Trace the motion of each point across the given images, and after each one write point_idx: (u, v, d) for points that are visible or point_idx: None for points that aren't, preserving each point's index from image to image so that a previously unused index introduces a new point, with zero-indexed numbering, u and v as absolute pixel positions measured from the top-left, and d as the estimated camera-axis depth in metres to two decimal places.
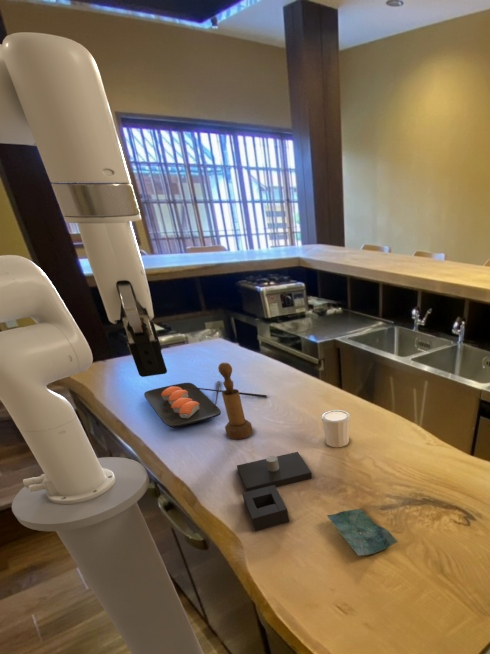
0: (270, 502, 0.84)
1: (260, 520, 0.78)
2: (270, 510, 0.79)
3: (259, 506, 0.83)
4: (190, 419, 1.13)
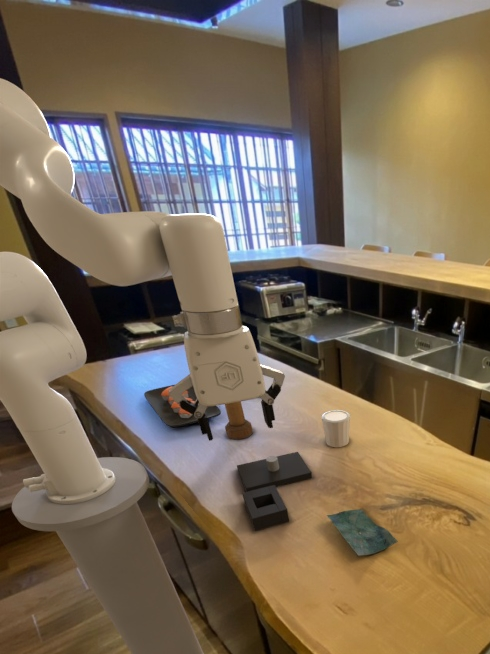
0: (270, 502, 0.84)
1: (260, 520, 0.78)
2: (270, 510, 0.79)
3: (259, 506, 0.83)
4: (190, 419, 1.13)
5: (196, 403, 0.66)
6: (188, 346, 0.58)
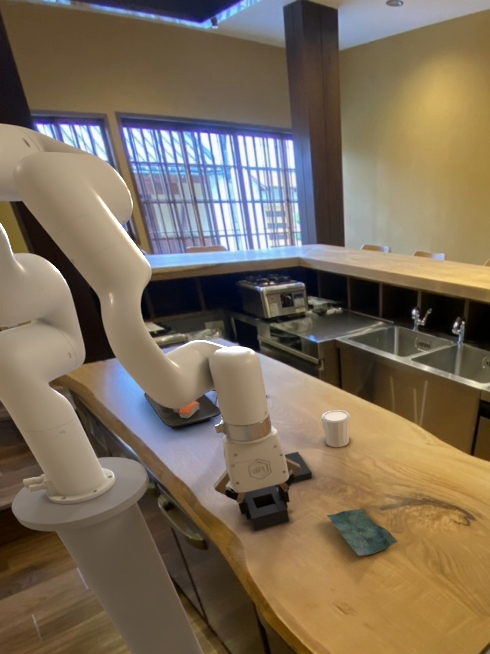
0: (270, 502, 0.84)
1: (260, 520, 0.78)
2: (270, 510, 0.79)
3: (259, 506, 0.83)
4: (190, 419, 1.13)
5: None
6: (227, 449, 0.70)
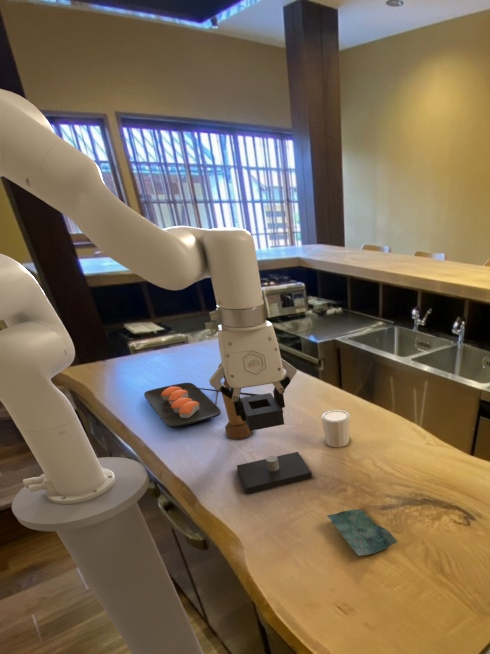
0: None
1: (255, 418, 0.78)
2: (265, 410, 0.79)
3: None
4: (190, 419, 1.13)
5: (231, 389, 0.78)
6: (221, 337, 0.70)
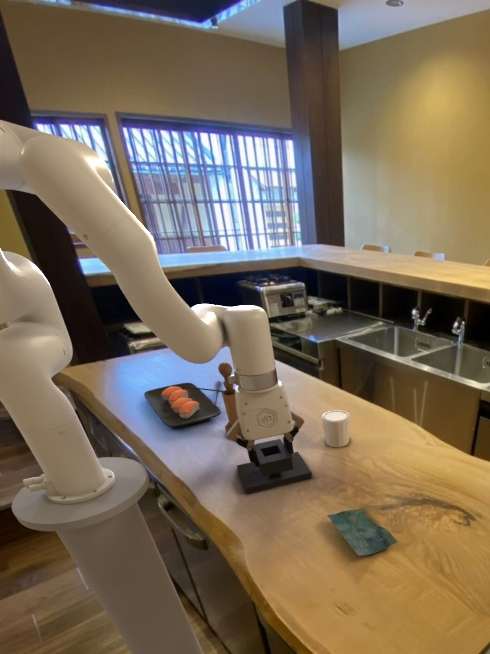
0: (276, 453, 0.93)
1: (268, 466, 0.87)
2: (277, 457, 0.88)
3: (266, 456, 0.92)
4: (190, 419, 1.13)
5: (246, 439, 0.87)
6: (238, 398, 0.79)
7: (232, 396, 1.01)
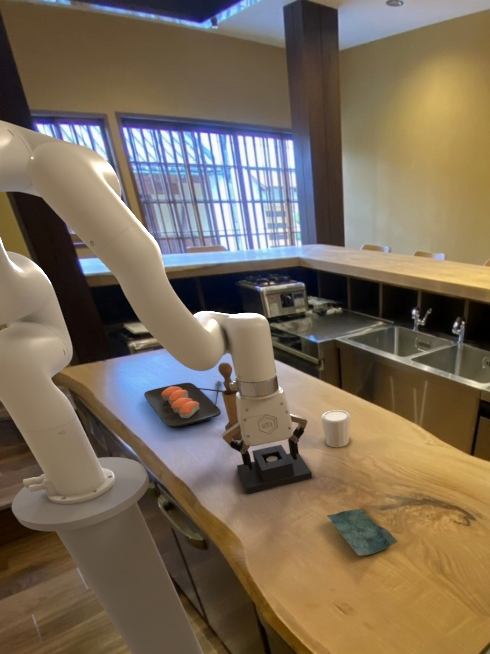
0: None
1: (269, 472, 0.88)
2: (278, 463, 0.89)
3: (267, 462, 0.93)
4: (190, 419, 1.13)
5: (241, 442, 0.87)
6: (239, 405, 0.80)
7: (232, 396, 1.01)
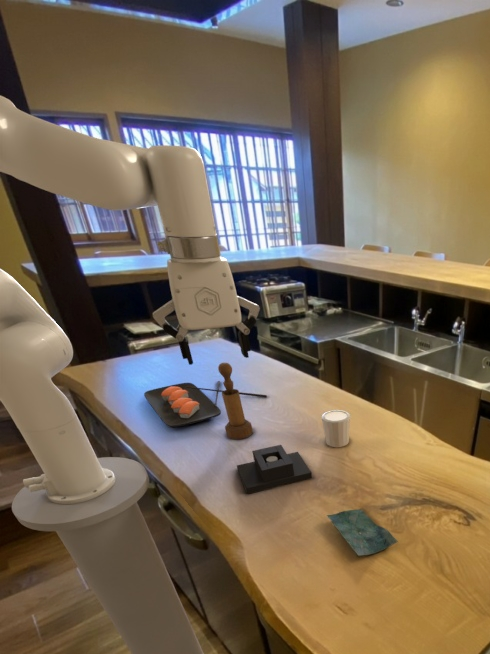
0: None
1: (269, 472, 0.88)
2: (278, 463, 0.89)
3: (267, 462, 0.93)
4: (190, 419, 1.13)
5: (178, 328, 0.72)
6: (170, 270, 0.65)
7: (232, 396, 1.01)
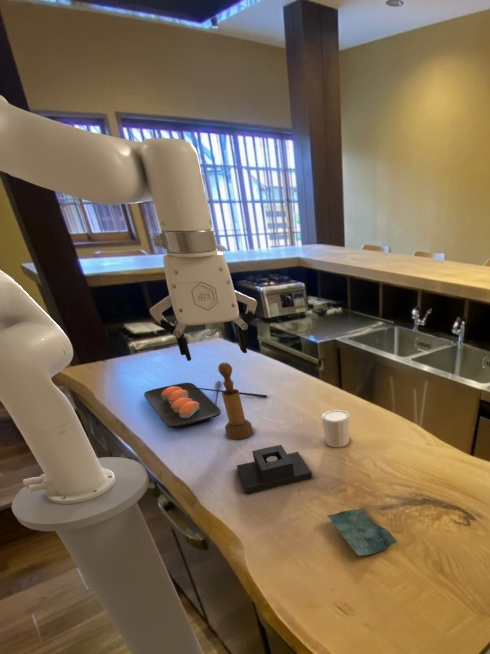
0: None
1: (269, 472, 0.88)
2: (278, 463, 0.89)
3: (267, 462, 0.93)
4: (190, 419, 1.13)
5: (175, 324, 0.72)
6: (166, 265, 0.65)
7: (232, 396, 1.01)
